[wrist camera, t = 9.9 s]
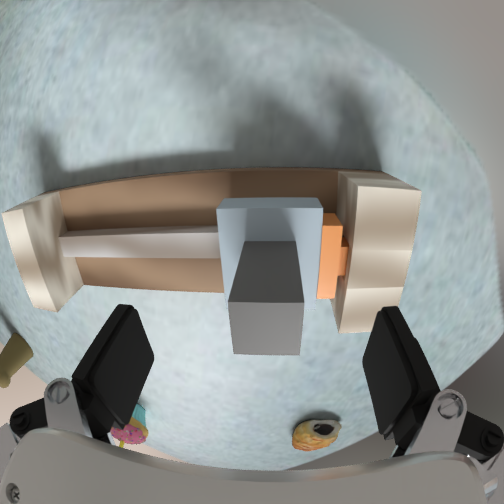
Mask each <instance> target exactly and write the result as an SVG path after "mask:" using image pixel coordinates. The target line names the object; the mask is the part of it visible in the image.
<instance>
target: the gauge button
mask: <svg viewBox="0 0 504 504" xmlns="http://www.w3.org/2000/svg"><path fill="white" fill-rule="evenodd" d="M342 230H343V225H342V224H341V222H340V221H339V219H338V218H337V216H336V214H335V213H323V223H322V239H321V253H320V266H319V277H318V288H317V299H333V298H335V291H336V284H337V277H338V276H345V274H346V267H347V259H348V251H349V243H348V242H347V240H346V238H345V237H342Z"/></svg>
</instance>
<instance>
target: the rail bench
mask: <svg viewBox="0 0 504 504" xmlns="http://www.w3.org/2000/svg"><path fill="white" fill-rule="evenodd" d="M266 197H304V198H318V200H319V202H320V203H321V205H322V207H323V213H335V214H336V216H337V218H338V219H339V221H340V222H341V224H342V225H343V230H342V237H345V238H346V240H347V242H348V243H349V251H348V259H347V267H346V274H345V276H338V277H337V284H336V291H335V298H333V299H330V301H331V304H332V308H333V312H334V316H335V320H336V324H337V329H338V333H357V332H371V331H372V328H373V325H374V321H375V318H376V314H377V312H378V311H381V309H382V307H386V306H397V307H398V305H399V301H400V298H401V294H402V291H403V287H404V283H405V279H406V275H407V271H408V267H409V262H410V258H411V253H412V248H413V243H414V238H415V232H416V227H417V221H418V214H419V207H420V200H421V190H419V189H417V188H415V187H413V186H411V185H409V184H407V183H405V182H403V181H401V180H399V179H397V178H395V177H393V176H391V175H389V174H387V173H385V172H383V171H372V170H357V169H338V168H307V167H262V168H231V169H212V170H197V171H184V172H173V173H163V174H154V175H145V176H137V177H129V178H122V179H115V180H108V181H102V182H96V183H90V184H84V185H79V186H73V187H68V188H63V189H58V190H54V191H49V192H45V193H42V194H40V195H38V196H36V197H33V198H31V199H29V200H27V201H25V202H23V203H21V204H19V205H17V206H15V207H13V208H11V209H9V210H7V211H5V212H3V213H2V217H3V221H4V225H5V229H6V232H7V236H8V239H9V243H10V246H11V249H12V252H13V255H14V258H15V261H16V264H17V267H18V270H19V272H20V275H21V278H22V280H23V283H24V285H25V288H26V290H27V292H28V295H29V297H30V299H31V302H32V304H33V306H34V307H35V308H39V309H44V310H48V311H53V312H58V311H59V310H60V309H61V308H62V307H63V306H64V305H65V304H66V303H67V302H68V301H69V299H70V298H71V297H72V296H73V295H74V294H75V293H76V292H77V291H78V290H79V289H80V288H81V287H82V286H83V285H92V286H104V287H117V288H132V289H148V290H166V291H187V292H215V293H224V283H223V274H222V264H221V255H220V244H219V234H218V223H217V211H216V209H217V207H218V206H219V205H220V203H221V202H222V200H223V199H224V198H266Z"/></svg>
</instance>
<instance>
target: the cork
mask: <svg viewBox="0 0 504 504" xmlns="http://www.w3.org/2000/svg"><path fill="white" fill-rule="evenodd" d="M31 357H33V351H32V349H31V348H30V346H29V345H28V343H27V342H26V341H25V340H24V339H23V338H22V337H21V336H20V335H19V334H17V333H13V335H12V336H11V338H10V339H9V341H8V342H7V344H6V346H5V347H4V349H3V351H2V352H1V354H0V387H2V388H6V387H8V386H9V384H10V378H11V377H12V375H13V374H15V373H16V372H17V371H18V370H19V369H20V368H21V367H22V366H23V365H24V364H25V363H26V362H27V361H28V360H29V359H30V358H31Z"/></svg>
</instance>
